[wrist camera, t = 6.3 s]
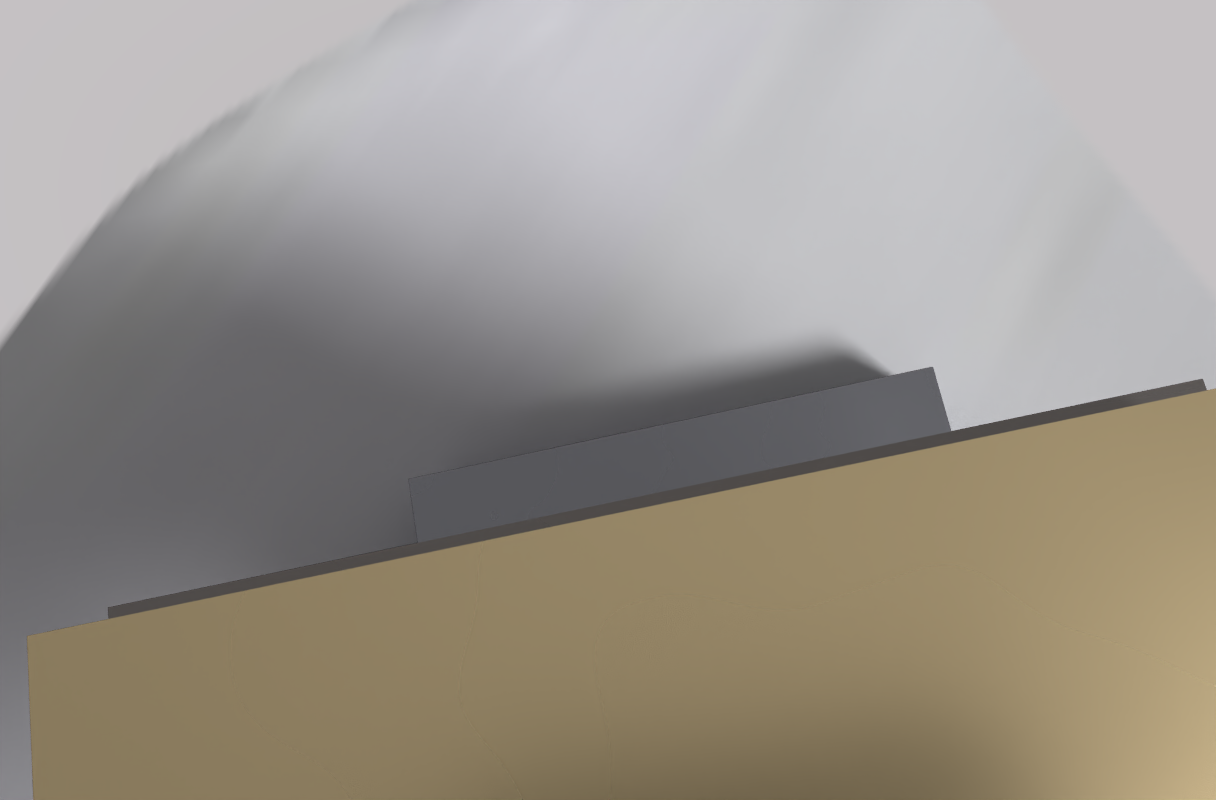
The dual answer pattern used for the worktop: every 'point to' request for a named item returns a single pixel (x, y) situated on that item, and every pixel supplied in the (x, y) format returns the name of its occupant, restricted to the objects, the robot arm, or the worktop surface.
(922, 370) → the rail plate
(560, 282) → the worktop surface
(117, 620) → the post
